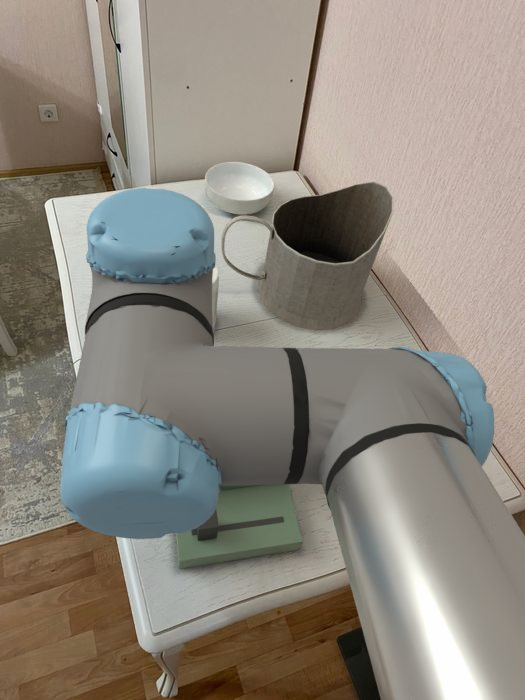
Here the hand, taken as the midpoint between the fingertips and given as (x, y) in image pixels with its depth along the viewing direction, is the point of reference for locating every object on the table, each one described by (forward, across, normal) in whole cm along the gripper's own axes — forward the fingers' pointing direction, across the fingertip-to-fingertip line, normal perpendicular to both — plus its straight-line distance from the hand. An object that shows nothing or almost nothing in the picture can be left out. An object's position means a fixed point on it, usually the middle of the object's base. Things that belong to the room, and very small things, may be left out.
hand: (163, 497), depth 58 cm
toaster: (+16, -10, -6) cm, 20 cm away
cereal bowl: (+17, -24, -82) cm, 87 cm away
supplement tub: (+17, -8, -41) cm, 45 cm away
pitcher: (+17, -30, -49) cm, 60 cm away
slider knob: (+12, -5, 0) cm, 13 cm away
